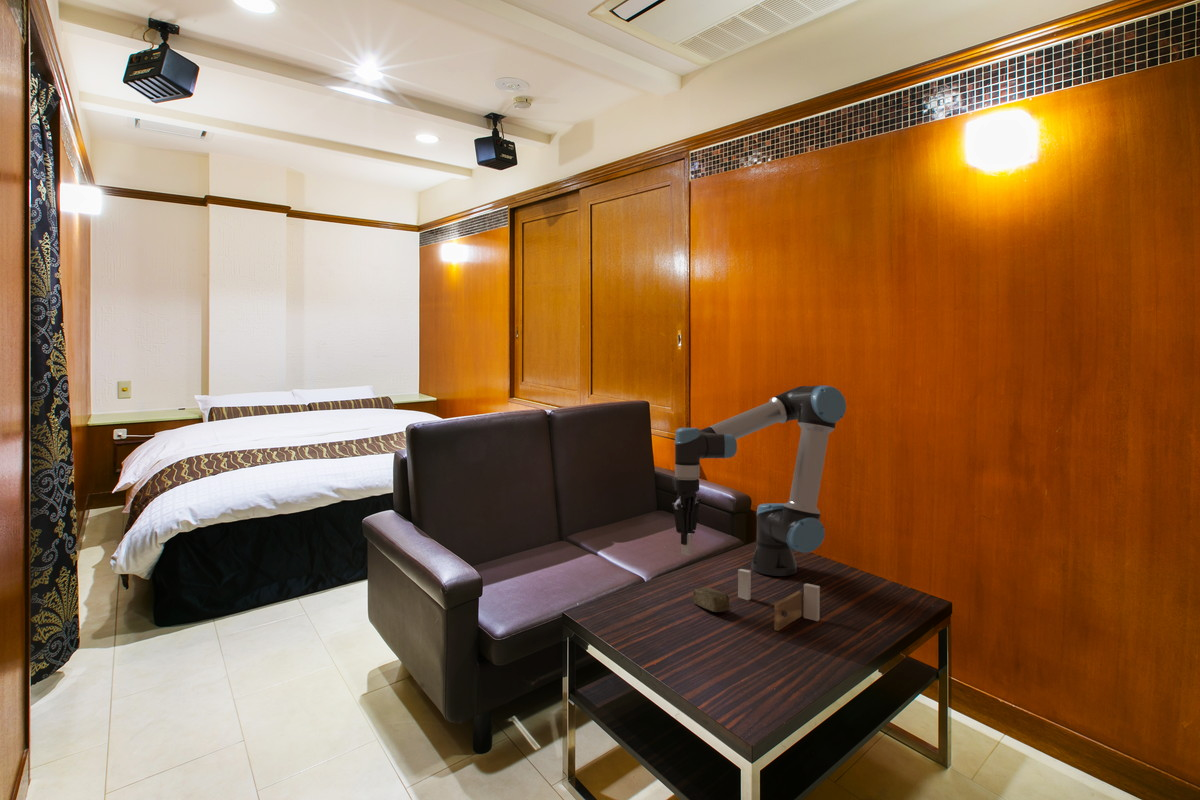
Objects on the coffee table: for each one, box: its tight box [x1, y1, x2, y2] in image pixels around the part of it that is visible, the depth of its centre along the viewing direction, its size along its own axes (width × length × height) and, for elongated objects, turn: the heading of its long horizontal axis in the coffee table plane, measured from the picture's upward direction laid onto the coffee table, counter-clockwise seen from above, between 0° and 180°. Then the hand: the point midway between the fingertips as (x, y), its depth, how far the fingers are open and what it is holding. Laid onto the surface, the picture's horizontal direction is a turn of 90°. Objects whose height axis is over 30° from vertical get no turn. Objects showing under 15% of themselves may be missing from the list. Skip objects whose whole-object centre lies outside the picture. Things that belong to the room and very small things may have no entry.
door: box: [773, 589, 804, 631], centre depth 165 cm, size 3×16×7 cm, turn 137°
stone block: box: [692, 586, 730, 613], centre depth 176 cm, size 6×12×5 cm, turn 27°
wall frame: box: [737, 568, 821, 622], centre depth 175 cm, size 2×25×10 cm, turn 49°
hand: (686, 554), depth 180 cm, fingers closed
